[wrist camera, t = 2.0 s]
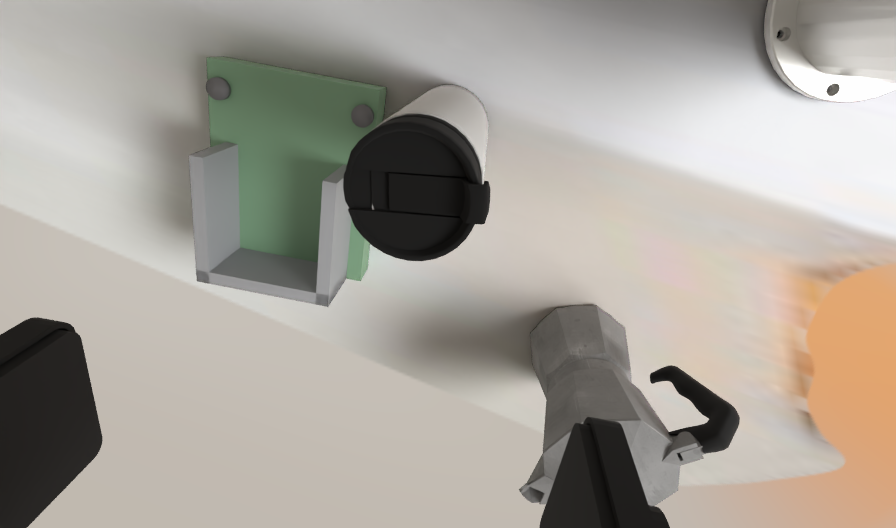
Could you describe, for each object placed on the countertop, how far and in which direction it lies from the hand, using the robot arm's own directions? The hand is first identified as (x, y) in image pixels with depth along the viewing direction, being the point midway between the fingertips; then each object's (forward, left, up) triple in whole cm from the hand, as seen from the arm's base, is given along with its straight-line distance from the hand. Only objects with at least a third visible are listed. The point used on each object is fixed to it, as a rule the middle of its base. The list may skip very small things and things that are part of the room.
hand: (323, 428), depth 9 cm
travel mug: (-1, 0, -32) cm, 33 cm away
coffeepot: (+16, +16, -33) cm, 40 cm away
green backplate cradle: (+5, -12, -32) cm, 35 cm away
